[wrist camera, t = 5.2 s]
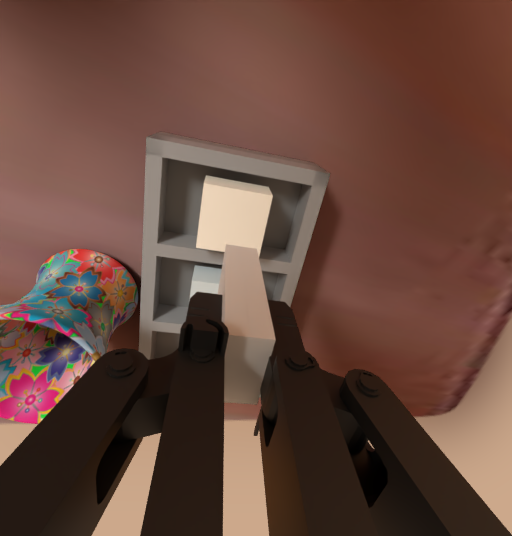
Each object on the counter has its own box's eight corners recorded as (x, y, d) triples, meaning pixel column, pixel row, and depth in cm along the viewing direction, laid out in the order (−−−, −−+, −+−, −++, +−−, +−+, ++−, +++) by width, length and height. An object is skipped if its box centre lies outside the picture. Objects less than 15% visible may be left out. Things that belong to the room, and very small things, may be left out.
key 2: (205, 175, 21) (203, 183, 19) (268, 186, 22) (272, 195, 20) (198, 234, 23) (195, 247, 21) (256, 243, 24) (258, 257, 22)
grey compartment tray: (160, 131, 23) (146, 137, 19) (313, 162, 25) (330, 173, 21) (148, 354, 33) (137, 388, 29) (258, 363, 35) (262, 397, 31)
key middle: (194, 265, 24) (191, 280, 22) (249, 272, 25) (251, 288, 23) (189, 310, 26) (185, 328, 24) (240, 316, 27) (241, 334, 25)
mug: (147, 249, 27) (105, 324, 18) (143, 331, 31) (107, 428, 22) (-5, 226, 25) (-143, 299, 16) (12, 318, 29) (-89, 418, 20)
